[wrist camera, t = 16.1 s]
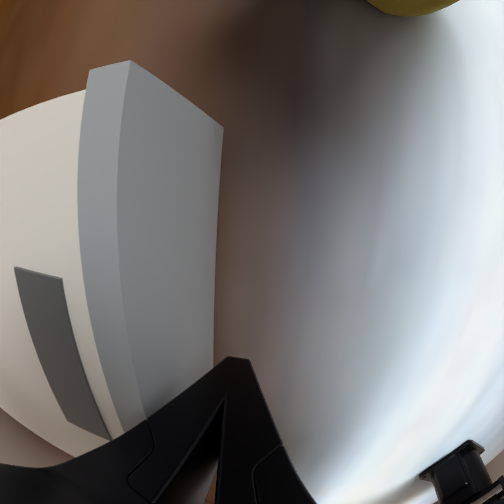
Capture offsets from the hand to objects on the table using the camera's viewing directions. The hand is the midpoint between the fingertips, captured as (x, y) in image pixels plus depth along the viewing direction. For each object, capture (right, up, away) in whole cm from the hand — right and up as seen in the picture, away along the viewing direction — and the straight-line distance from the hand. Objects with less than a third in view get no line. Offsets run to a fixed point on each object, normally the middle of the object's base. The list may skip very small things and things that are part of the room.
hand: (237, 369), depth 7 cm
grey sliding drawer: (-7, +2, +5) cm, 9 cm away
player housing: (-8, +2, +6) cm, 10 cm away
